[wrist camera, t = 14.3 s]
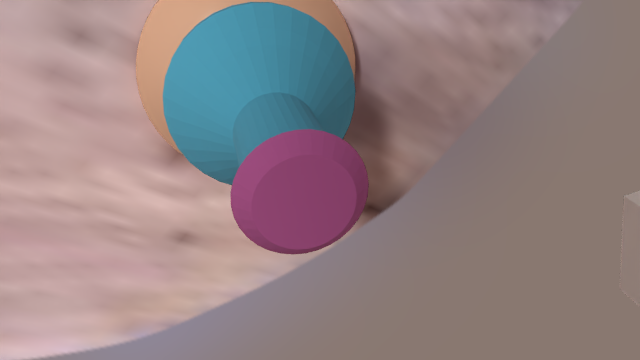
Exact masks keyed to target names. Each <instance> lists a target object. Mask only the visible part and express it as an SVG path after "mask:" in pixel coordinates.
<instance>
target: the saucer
mask: <svg viewBox="0 0 640 360" xmlns="http://www.w3.org/2000/svg"><path fill="white" fill-rule="evenodd" d="M247 2H272V3H276V4H281V5H286V6H289V7H292V8H294V9H297V10H299V11H301V12H303V13H306V14H308V15H310V16H311V17H313V18H314V19H316V20H317V21H318V22H320V23H321V24H323V25H324V26H325V27H326V28H327V29H328V30H329V31H330V32H331V33H332V34H333V35H334V36H335V38H336V39H337V40H338V41H339V43H340V44H341V46H342V48H343V50H344V51H345V53H346V55H347V56H348V59H349V62H350V65H351V68H352V71H353V76H354V78H355V54H354V46H353V42H352V38H351V35H350V31H349V29H348V26H347V24H346V22H345V19H344V17H343V16H342V14H341V12H340V11H339V9H338V7H337V6H336V4H335V3H334V2H333V1H332V0H158V1H157V3H156V4H155V5H154V7H153V9H152V10H151V12H150V14H149V16H148V17H147V20H146V22H145V25H144V27H143V30H142V33H141V37H140V41H139V45H138V49H137V58H136V79H137V84H138V90H139V94H140V97H141V100H142V104H143V107H144V109H145V111H146V113H147V115H148V117H149V119H150V121H151V122H152V124H153V125H154V127H155V128H156V130H157V131H158V132H159V134H160V135H161V136H162V137H163V138H164V139H165V140H166V142H167V143H169V144H170V145H171V146H172V147H173V148H174V149H175V150H176V151H178V152H179V153H181V154H182V152H181V151H180V150H179V149H178V147H177V145H176V144H175V142H174V140H173V138H172V136H171V134H170V133H169V129H168V126H167V123H166V119H165V116H164V108H163V89H164V81H165V76H166V73H167V70H168V67H169V64H170V62H171V59H172V57H173V55H174V53H175V51H176V50H177V48H178V46H179V45H180V43H181V42H182V40H183V38H184V37H185V36H186V35H187V34H188V33H189V32H190V31H191V30H192V29H193V28H194V27H195V26H196V25H197V24H198V23H199V22H201V21H202V20H204V19H205V18H207V17H208V16H210V15H211V14H213V13H215V12H217V11H219V10H222V9H224V8H226V7H229V6H231V5H237V4H242V3H247ZM182 155H183V154H182Z"/></svg>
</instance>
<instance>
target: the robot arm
mask: <svg viewBox="0 0 640 360" xmlns="http://www.w3.org/2000/svg"><path fill="white" fill-rule="evenodd" d="M620 290H621V291H623V292H624V293H625V294H626V295H627V296H628V297H629V298H630V299H631V300H633V301H634V302H635V303H636V304H637V305H638V306H639V307H640V191H637V192H634V193H631V194H628V195H625V196H624V203H623V226H622V248H621V270H620Z"/></svg>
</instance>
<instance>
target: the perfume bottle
mask: <svg viewBox="0 0 640 360" xmlns="http://www.w3.org/2000/svg"><path fill="white" fill-rule="evenodd" d="M354 103H355V84H354V76H353V71H352V68H351V65H350V62H349V59H348V56H347V55H346V53H345V51H344V50H343V48H342V46H341V44H340V43H339V41H338V40H337V39H336V38H335V36H334V35H333V34H332V33H331V32H330V31H329V30H328V29H327V28H326V27H325V26H324V25H323V24H321V23H320V22H318V21H317V20H316V19H314V18H313V17H311V16H310V15H308V14H306V13H303V12H301V11H299V10H297V9H294V8H292V7H289V6H286V5H281V4H276V3H272V2H247V3H242V4H237V5H231V6H229V7H226V8H224V9H222V10H219V11H217V12H215V13H213V14H211V15H210V16H208V17H207V18H205V19H204V20H202V21H201V22H199V23H198V24H197V25H196V26H195V27H194V28H193V29H192V30H191V31H190V32H189V33H188V34H187V35H186V36H185V37H184V38H183V40H182V42H181V43H180V45H179V46H178V48H177V50H176V51H175V53H174V55H173V57H172V59H171V62H170V64H169V67H168V70H167V73H166V76H165V81H164V89H163V108H164V116H165V119H166V123H167V126H168V129H169V133H170V134H171V136H172V138H173V140H174V142H175V144H176V145H177V147H178V149H179V150H180V151H181V152H182V154H183V155H184V156H185V157H186V158H187V159H188V161H189V162H190V163H192V164H193V165H194V166H195V167H197V168H198V169H199V170H200V171H202V172H203V173H204V174H206V175H208V176H210V177H212V178H214V179H216V180H218V181H220V182H223V183H227V184H230V185H232V189H231V208H232V211H233V215H234V218H235V220H236V222H237V224H238V226H239V228H240V229H241V230H242V231H243V233H244V234H245V235H246V236H247V237H248V238H249V239H250V240H252V241H253V242H254V243H256V244H257V245H259V246H261V247H263V248H265V249H267V250H270V251H274V252H278V253H284V254H302V253H308V252H312V251H316V250H319V249H322V248H324V247H326V246H328V245H331V244H332V243H334V242H335V241H337V240H338V239H340V238H341V237H342V236H343V235H345V234H346V233H347V232H348V231H349V230H350V229H351V228H352V227H353V225H354V224H355V223H356V221H357V220H358V219H359V217H360V215H361V213H362V211H363V209H364V207H365V203H366V200H367V197H368V186H369V184H368V176H367V171H366V168H365V165H364V163H363V161H362V159H361V157H360V156H359V154H358V153H357V151H356V150H355V149H354V148H353V147H352V146H351V145H350V144H349V143H347V142H346V141H344V140H343V138H344V136H345V133H346V131H347V129H348V127H349V125H350V122H351V118H352V114H353V111H354Z"/></svg>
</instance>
